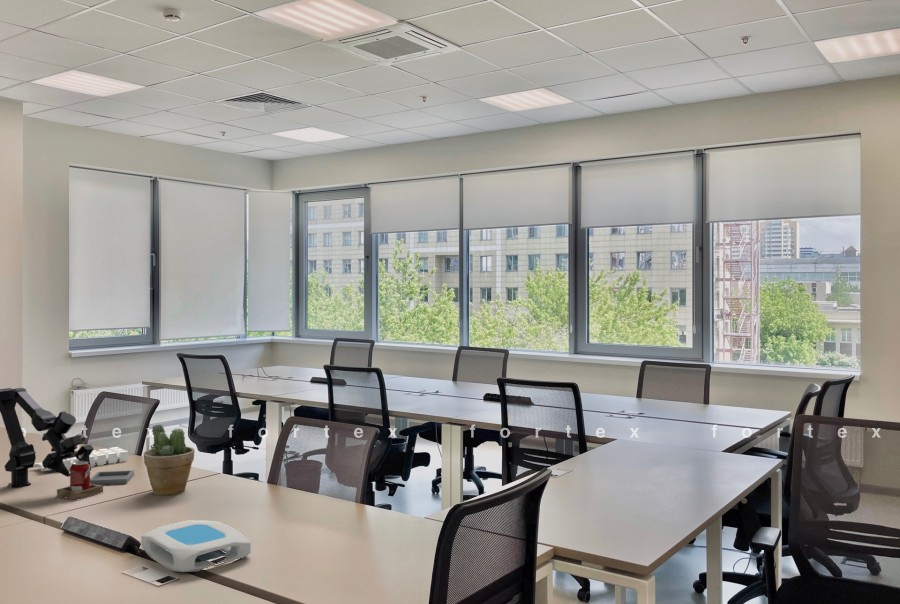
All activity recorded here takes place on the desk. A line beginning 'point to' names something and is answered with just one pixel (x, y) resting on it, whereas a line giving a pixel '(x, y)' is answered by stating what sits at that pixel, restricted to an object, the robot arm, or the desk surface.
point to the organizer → (96, 458)
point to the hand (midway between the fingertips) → (79, 473)
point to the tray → (112, 477)
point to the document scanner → (193, 544)
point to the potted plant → (168, 462)
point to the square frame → (78, 495)
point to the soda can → (79, 476)
